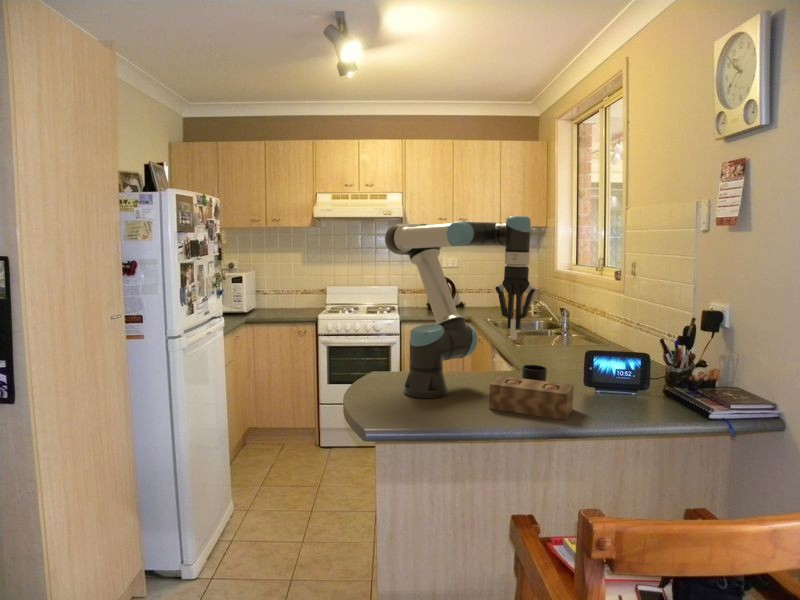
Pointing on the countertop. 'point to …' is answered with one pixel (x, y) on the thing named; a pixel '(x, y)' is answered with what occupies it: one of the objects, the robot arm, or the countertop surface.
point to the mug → (534, 372)
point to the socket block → (531, 397)
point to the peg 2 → (551, 387)
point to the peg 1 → (513, 382)
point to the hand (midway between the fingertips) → (513, 338)
